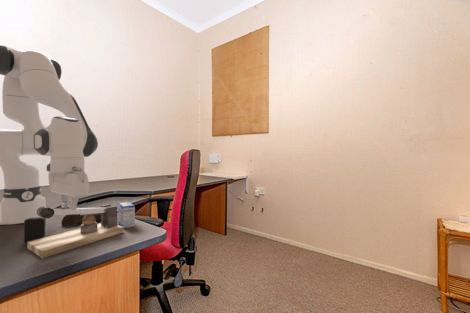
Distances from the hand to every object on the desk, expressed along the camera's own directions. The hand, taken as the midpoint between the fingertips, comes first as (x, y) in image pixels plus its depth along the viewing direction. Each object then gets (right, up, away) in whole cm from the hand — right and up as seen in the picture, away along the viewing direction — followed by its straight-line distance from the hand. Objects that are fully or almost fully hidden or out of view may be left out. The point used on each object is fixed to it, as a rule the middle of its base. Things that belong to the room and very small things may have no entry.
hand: (69, 208), depth 74 cm
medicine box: (+10, -11, +18) cm, 24 cm away
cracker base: (+1, -11, +3) cm, 12 cm away
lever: (+1, -3, +3) cm, 4 cm away
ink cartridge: (-12, -12, +1) cm, 17 cm away
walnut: (+3, -7, +5) cm, 10 cm away
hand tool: (-7, -11, +21) cm, 25 cm away
